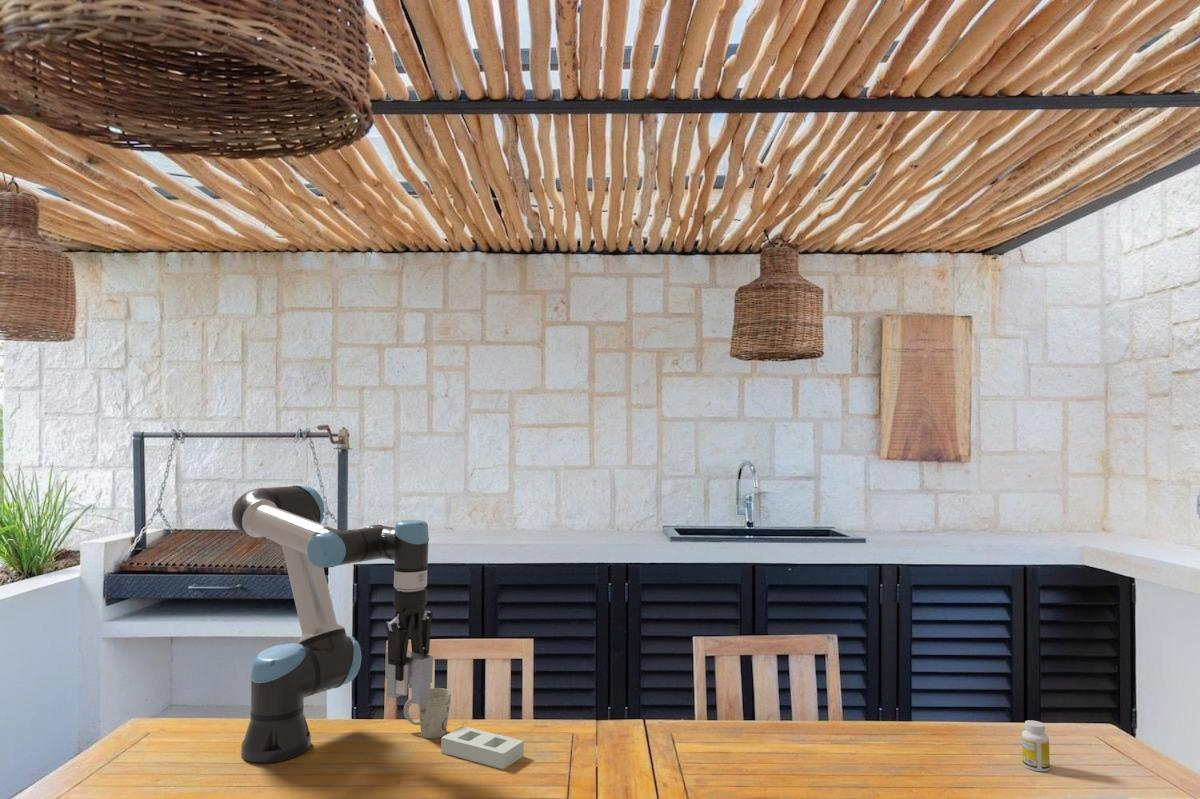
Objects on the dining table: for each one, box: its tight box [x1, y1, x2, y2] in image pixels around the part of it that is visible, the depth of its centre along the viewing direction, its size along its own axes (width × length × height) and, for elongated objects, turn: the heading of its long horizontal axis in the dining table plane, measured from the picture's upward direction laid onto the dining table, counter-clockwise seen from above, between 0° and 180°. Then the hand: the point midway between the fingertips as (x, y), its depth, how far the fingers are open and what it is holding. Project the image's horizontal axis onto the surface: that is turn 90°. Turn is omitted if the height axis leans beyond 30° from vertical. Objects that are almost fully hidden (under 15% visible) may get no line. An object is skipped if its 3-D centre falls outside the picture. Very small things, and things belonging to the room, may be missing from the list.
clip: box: [385, 650, 434, 705], centre depth 172 cm, size 11×4×10 cm, turn 61°
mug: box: [403, 687, 452, 739], centre depth 188 cm, size 8×13×10 cm, turn 78°
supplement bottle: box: [1021, 719, 1051, 772], centre depth 171 cm, size 5×5×10 cm
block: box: [440, 725, 525, 770], centre depth 176 cm, size 18×8×4 cm, turn 61°
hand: (408, 690), depth 172 cm, fingers closed on clip, 3 cm apart
